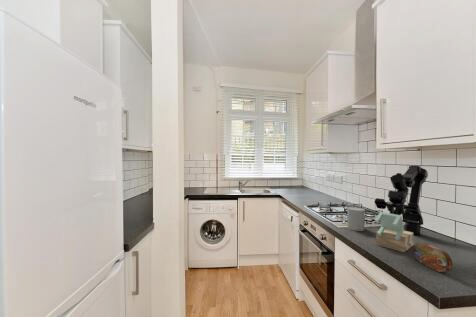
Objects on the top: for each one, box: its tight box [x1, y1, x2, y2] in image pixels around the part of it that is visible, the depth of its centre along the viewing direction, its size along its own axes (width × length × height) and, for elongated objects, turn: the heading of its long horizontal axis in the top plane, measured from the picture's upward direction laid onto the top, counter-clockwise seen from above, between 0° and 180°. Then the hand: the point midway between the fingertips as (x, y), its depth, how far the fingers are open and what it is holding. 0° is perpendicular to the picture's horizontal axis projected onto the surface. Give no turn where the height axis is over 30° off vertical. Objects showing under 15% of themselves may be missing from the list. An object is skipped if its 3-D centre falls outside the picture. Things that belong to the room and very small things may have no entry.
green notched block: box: [374, 211, 404, 241], centre depth 110 cm, size 8×9×9 cm
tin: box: [412, 242, 453, 273], centre depth 92 cm, size 15×3×8 cm, turn 4°
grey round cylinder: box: [346, 206, 366, 232], centre depth 141 cm, size 10×10×12 cm
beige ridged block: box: [375, 229, 414, 253], centre depth 115 cm, size 14×12×6 cm
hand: (391, 219), depth 112 cm, fingers closed
